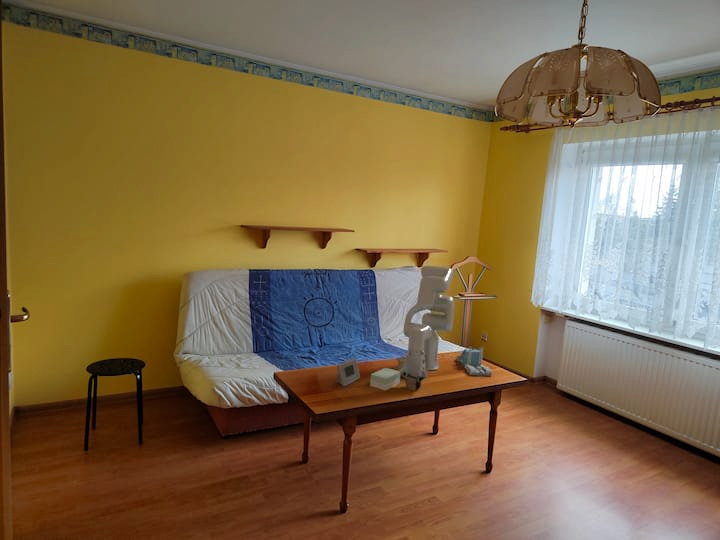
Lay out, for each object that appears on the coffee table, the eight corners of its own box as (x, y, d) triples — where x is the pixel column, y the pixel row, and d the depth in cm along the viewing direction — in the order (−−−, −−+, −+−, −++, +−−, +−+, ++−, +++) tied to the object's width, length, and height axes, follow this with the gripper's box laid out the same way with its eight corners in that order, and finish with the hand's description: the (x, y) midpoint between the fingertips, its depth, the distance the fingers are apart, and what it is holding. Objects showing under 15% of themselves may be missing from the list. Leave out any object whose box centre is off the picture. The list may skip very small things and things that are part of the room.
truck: (474, 360, 286) (476, 337, 284) (491, 377, 257) (494, 351, 255) (455, 360, 285) (457, 336, 283) (470, 376, 256) (473, 350, 254)
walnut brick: (410, 385, 236) (411, 374, 235) (419, 388, 233) (420, 376, 232) (405, 388, 231) (406, 376, 231) (414, 391, 229) (415, 379, 228)
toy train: (427, 376, 251) (429, 358, 250) (400, 379, 245) (401, 360, 243) (422, 373, 256) (424, 355, 255) (395, 375, 250) (396, 357, 248)
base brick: (384, 378, 243) (385, 367, 243) (399, 382, 239) (400, 371, 238) (370, 385, 232) (371, 374, 231) (385, 390, 227) (386, 378, 226)
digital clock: (342, 388, 227) (344, 367, 226) (330, 382, 233) (331, 362, 232) (364, 380, 239) (366, 360, 238) (352, 375, 245) (353, 356, 244)
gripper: (434, 354, 228) (431, 389, 230) (403, 346, 238) (401, 381, 240) (427, 357, 222) (424, 394, 224) (396, 350, 232) (394, 385, 234)
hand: (412, 387), depth 232 cm, fingers closed on walnut brick, 5 cm apart
